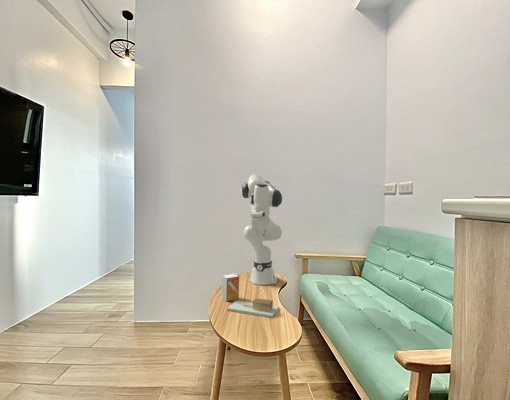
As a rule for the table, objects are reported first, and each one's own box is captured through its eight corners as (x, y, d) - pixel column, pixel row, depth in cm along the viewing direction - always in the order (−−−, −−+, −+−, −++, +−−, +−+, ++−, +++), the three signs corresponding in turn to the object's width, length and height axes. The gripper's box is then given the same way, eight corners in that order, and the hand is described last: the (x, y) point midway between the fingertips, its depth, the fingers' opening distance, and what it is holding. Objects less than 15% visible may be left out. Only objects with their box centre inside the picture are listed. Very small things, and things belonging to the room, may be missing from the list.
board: (236, 302, 161) (236, 299, 161) (279, 308, 153) (279, 306, 153) (227, 310, 150) (227, 307, 150) (272, 317, 142) (272, 315, 142)
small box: (226, 301, 162) (226, 278, 162) (221, 298, 168) (221, 275, 167) (239, 298, 167) (239, 276, 167) (233, 295, 172) (233, 273, 172)
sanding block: (256, 305, 154) (256, 297, 154) (272, 307, 151) (272, 300, 150) (252, 308, 149) (252, 301, 149) (269, 311, 146) (269, 303, 146)
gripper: (262, 211, 175) (262, 235, 175) (249, 213, 156) (249, 240, 156) (272, 212, 173) (272, 235, 173) (260, 214, 153) (260, 240, 154)
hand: (261, 237), depth 164 cm, fingers open, 8 cm apart
